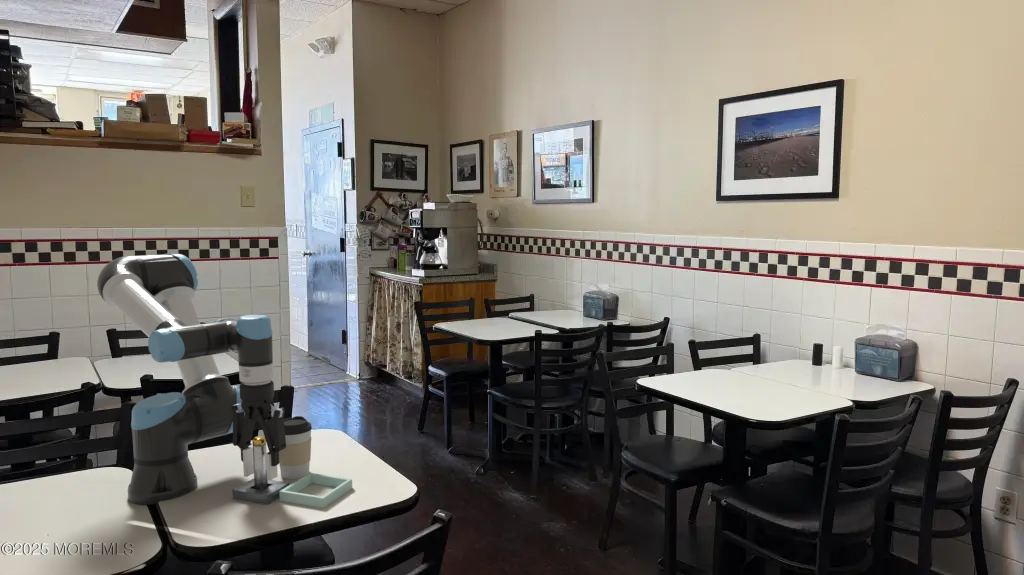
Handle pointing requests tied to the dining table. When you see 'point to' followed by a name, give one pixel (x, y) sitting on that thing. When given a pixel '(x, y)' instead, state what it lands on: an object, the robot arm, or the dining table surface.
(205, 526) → the dining table surface
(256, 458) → the pin
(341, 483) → the tray
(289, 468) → the coffee cup
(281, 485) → the block
